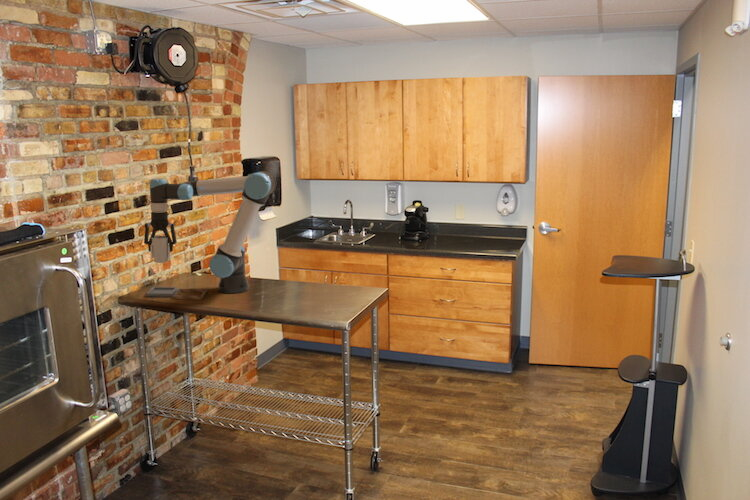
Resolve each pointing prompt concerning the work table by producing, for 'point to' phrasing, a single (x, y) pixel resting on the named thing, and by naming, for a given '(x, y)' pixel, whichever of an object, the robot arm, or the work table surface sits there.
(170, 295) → the tray
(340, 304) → the work table surface
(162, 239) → the cup
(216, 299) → the work table surface
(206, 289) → the holder frame
